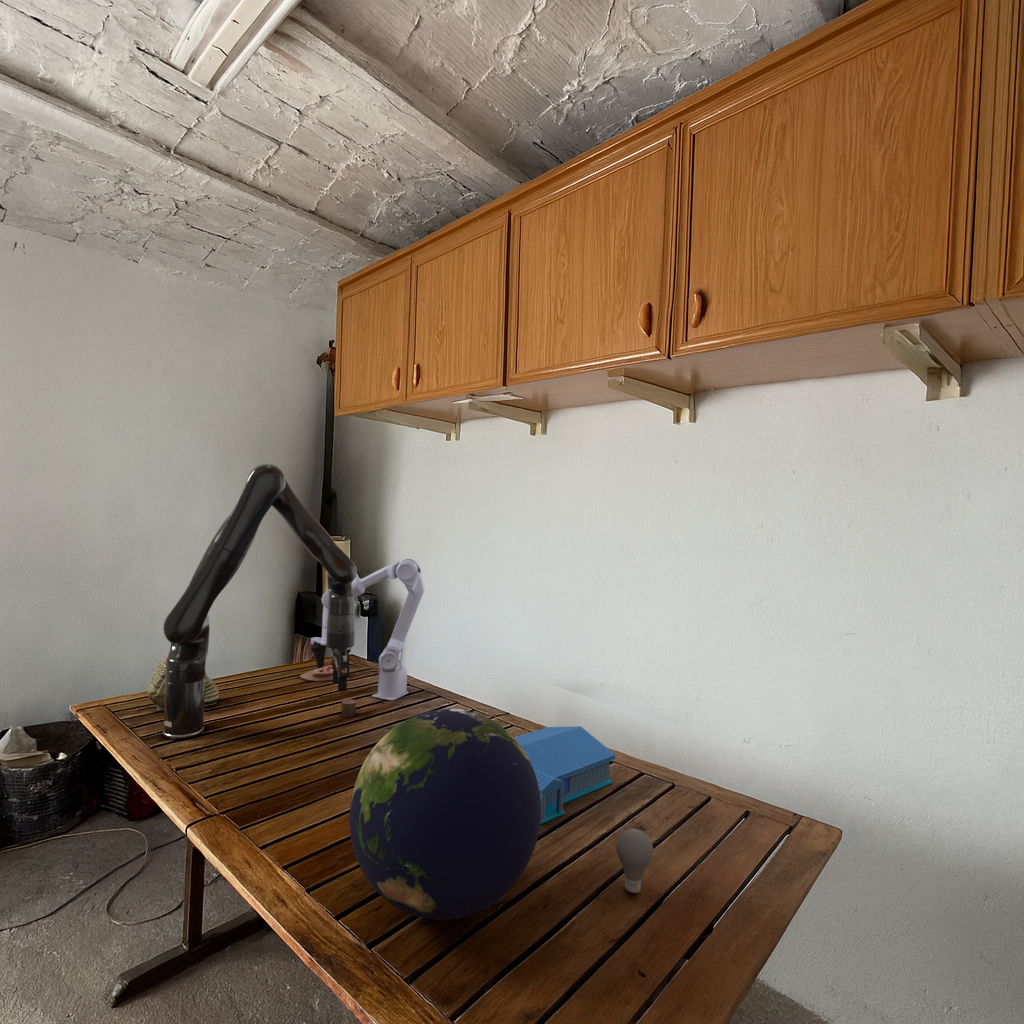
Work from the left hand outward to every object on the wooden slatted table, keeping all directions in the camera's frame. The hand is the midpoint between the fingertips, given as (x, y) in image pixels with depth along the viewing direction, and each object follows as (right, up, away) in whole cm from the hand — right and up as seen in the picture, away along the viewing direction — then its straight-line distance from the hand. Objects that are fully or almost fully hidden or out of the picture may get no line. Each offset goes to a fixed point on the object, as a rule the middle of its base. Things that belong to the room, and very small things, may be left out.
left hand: (339, 687), depth 177 cm
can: (+1, -10, +7) cm, 12 cm away
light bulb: (+68, -14, -71) cm, 100 cm away
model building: (+51, -13, -37) cm, 65 cm away
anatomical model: (-18, -9, +43) cm, 48 cm away
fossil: (-48, -8, +8) cm, 49 cm away
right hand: (-10, -1, +25) cm, 26 cm away
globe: (+37, -13, -76) cm, 86 cm away
